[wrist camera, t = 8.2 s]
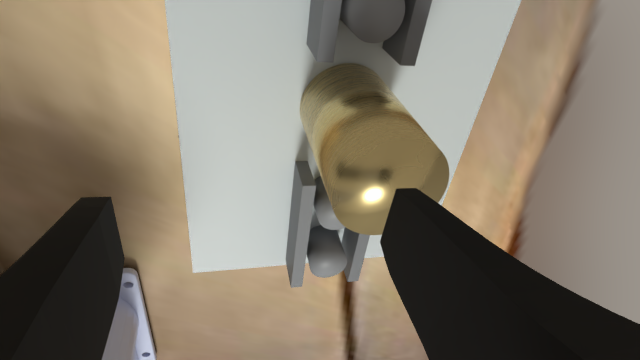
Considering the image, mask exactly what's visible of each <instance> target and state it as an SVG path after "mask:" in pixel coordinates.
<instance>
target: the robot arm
mask: <svg viewBox="0 0 640 360" xmlns="http://www.w3.org/2000/svg"><path fill="white" fill-rule="evenodd" d="M380 244H381V247H382V251H383V254H384V258H385V261H386V264H387V267H388V270H389V273H390V275H391V278H392V280H393V282H394V284H395V287H396V289H397V291H398V293H399V295H400V297H401V300H402V302H403V304H404V306H405V308H406V310H407V312H408V314H409V317H410V319H411V321H412V323H413V325H414V327H415V329H416V331H417V334H418V336H419V338H420V340H421V342H422V344H423V346H424V349H425V351H426V354H427V356H428V358H429V360H640V324H638V323H635V322H633V321H631V320H629V319H627V318H625V317H623V316H620V315H618V314H616V313H614V312H611V311H610V310H608V309H605V308H603V307H602V306H600V305H598V304H595V303H594V302H592V301H590V300H588V299H586V298H583V297H581V296H579V295H578V294H576V293H574V292H572V291H570V290H568V289H566V288H564V287H562V286H561V285H559V284H557V283H556V282H554V281H552V280H550V279H549V278H547V277H545V276H543V275H542V274H540V273H538V272H537V271H535V270H533V269H531V268H530V267H528V266H527V265H525V264H523V263H522V262H520V261H519V260H517V259H516V258H514V257H513V256H511V255H510V254H508V253H507V252H505V251H504V250H502V249H501V248H499V247H498V246H496V245H495V244H493V243H492V242H490V241H489V240H487V239H486V238H485V237H483V236H482V235H480V234H479V233H478V232H476V231H475V230H473V229H472V228H471V227H469V226H468V225H467V224H465V223H464V222H463V221H461V220H460V219H459V218H457V217H456V216H454V215H453V214H452V213H450V212H449V211H448V210H446V209H445V208H444V207H442V206H441V205H440V204H438V203H437V202H436V201H434V200H433V199H432V198H430V197H429V196H427V195H426V194H424V193H423V192H421V191H420V190H418V189H417V188H398V189H396V191H395V194H394V197H393V200H392V204H391V207H390V210H389V213H388V217H387V220H386V223H385V227H384V230H383V233H382V236H381V240H380ZM123 266H124V254H123V250H122V245H121V241H120V236H119V232H118V227H117V223H116V218H115V213H114V209H113V204H112V200H111V197H87V198H81V199H79V200H78V201H77V202H76V203H75V204H74V205H73V206H72V207H71V208H70V209H69V210H68V211H67V212H66V213H65V214H64V215H63V216H62V217H61V218H60V219H59V220H58V221H57V222H56V223H55V224H54V225H53V226H52V227H51V228H50V229H49V230H48V231H47V232H46V233H45V234H44V235H43V236H42V237H41V238H40V239H39V240H38V241H37V242H36V243H35V244H34V245H33V246H32V247H31V248H30V249H29V250H28V251H27V252H26V253H25V254H24V255H22V256H21V257H20V258H19V259H18V260H17V261H16V262H15V263H14V264H13V265H12V266H11V267H10V268H9V269H8V270H7V271H6V272H4V273H3V274H2V275H1V276H0V360H156V359H157V356H156V351H155V347H154V343H153V338H152V334H151V330H150V325H149V321H148V316H147V312H146V308H145V303H144V299H143V294H142V290H141V286H140V281H139V277H138V273H137V271H136V270H134V269H132V268H123Z"/></svg>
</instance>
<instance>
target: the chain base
mask: <svg viewBox="0 0 640 360" xmlns="http://www.w3.org/2000/svg"><path fill="white" fill-rule="evenodd" d="M520 2H521V0H165V8H166V17H167V27H168V37H169V46H170V56H171V65H172V75H173V84H174V94H175V103H176V113H177V122H178V132H179V142H180V151H181V161H182V170H183V180H184V189H185V199H186V208H187V218H188V228H189V237H190V247H191V256H192V266H193V273H197V272H209V271H220V270H232V269H244V268H255V267H267V266H279V265H287V270H288V275H289V280H290V285H291V287H301V286H302V283H303V275H304V268H305V263H309V266H310V270H311V272H312V273H313V274H314V275H315V276H317V277H323V278H325V277H331V276H334V275H337V274H338V273H340V272H341V271H342V270H343V269H344V272H345V275H346V278H347V281H348V282H351V281H358V279H359V275H360V271H361V268H362V264H363V260H364V258H372V257H384V254H383V251H382V247H381V244H380V240H381V236H382V235H365V234H360V233H357V232H354V231H352V230H349V229H348V228H346V227H345V226H344V225H342V224H341V223H340V222H339V220H338V219H337V218H336V216H335V214H334V211H333V208H332V205H331V203H330V200H329V197H328V194H327V192H326V189H325V186H324V183H323V180H322V178H321V175H320V172H319V169H318V166H317V164H316V161H315V158H314V155H313V152H312V150H311V147H310V144H309V141H308V138H307V136H306V133H305V130H304V127H303V125H302V122H301V118H300V102H301V98H302V95H303V93H304V91H305V89H306V88H307V86H308V85H309V83H310V82H311V81H312V80H313V79H314V78H315V77H316V76H317V75H318V74H319V73H321V72H322V71H324V70H326V69H328V68H330V67H332V66H335V65H338V64H344V63H355V64H360V65H364V66H366V67H368V68H370V69H372V70H373V71H374V72H376V73H377V74H378V76H379V77H380V78H381V79H382V80H383V81H384V83H385V84H386V85H387V86H388V87H389V89H390V90H391V91H392V92H393V93H394V95H395V96H396V97H397V98H398V100H399V101H400V102H401V103H402V104H403V106H404V107H405V108H406V109H407V110H408V112H409V113H410V114H411V115H412V116H413V118H414V119H415V120H416V121H417V122H418V124H419V125H420V126H421V127H422V129H423V130H424V131H425V132H426V133H427V135H428V136H429V137H430V138H431V139H432V141H433V142H434V143H435V144H436V145H437V147H438V148H439V149H440V150H441V151H442V153H443V154H444V156H445V157H446V159H447V162H448V165H449V182H448V185H447V188H446V190H445V193H444V195H443V196H442V198H441V200H440V201H439V202H438V204H440V205H441V206H442V203H443V201H444V198H445V196H446V193H447V191H448V188H449V185H450V183H451V180H452V178H453V175H454V172H455V170H456V167H457V165H458V162H459V160H460V157H461V154H462V152H463V149H464V147H465V144H466V142H467V139H468V136H469V134H470V131H471V129H472V126H473V123H474V121H475V118H476V116H477V113H478V111H479V108H480V105H481V103H482V100H483V98H484V95H485V92H486V90H487V87H488V85H489V82H490V80H491V77H492V74H493V72H494V69H495V67H496V64H497V62H498V59H499V56H500V54H501V51H502V49H503V46H504V43H505V41H506V38H507V36H508V33H509V31H510V28H511V25H512V23H513V20H514V18H515V15H516V12H517V10H518V7H519V5H520Z"/></svg>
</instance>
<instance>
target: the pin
mask: <svg viewBox="0 0 640 360" xmlns="http://www.w3.org/2000/svg"><path fill="white" fill-rule="evenodd" d="M300 118H301V122H302V125H303V127H304V130H305V133H306V136H307V138H308V141H309V144H310V147H311V150H312V152H313V155H314V158H315V161H316V164H317V166H318V169H319V172H320V175H321V178H322V180H323V183H324V186H325V189H326V192H327V194H328V197H329V200H330V203H331V205H332V208H333V211H334V214H335V216H336V218H337V219H338V220H339V222H340V223H341V224H342V225H344V226H345V227H346V228H348V229H349V230H352V231H354V232H357V233H360V234H365V235H382V233H383V230H384V227H385V223H386V220H387V217H388V213H389V210H390V207H391V204H392V200H393V197H394V194H395V191H396V189H398V188H417V189H418V190H420V191H421V192H423V193H424V194H426V195H427V196H429V197H430V198H432V199H433V200H434V201H436V202H437V203H438V202H439V201H440V200H441V198H442V196H443V195H444V193H445V190H446V188H447V185H448V182H449V165H448V162H447V159H446V157H445V156H444V154H443V153H442V151H441V150H440V149H439V148H438V147H437V145H436V144H435V143H434V142H433V141H432V139H431V138H430V137H429V136H428V135H427V133H426V132H425V131H424V130H423V129H422V127H421V126H420V125H419V124H418V122H417V121H416V120H415V119H414V118H413V116H412V115H411V114H410V113H409V112H408V110H407V109H406V108H405V107H404V106H403V104H402V103H401V102H400V101H399V100H398V98H397V97H396V96H395V95H394V93H393V92H392V91H391V90H390V89H389V87H388V86H387V85H386V84H385V83H384V81H383V80H382V79H381V78H380V77H379V76H378V74H377V73H376V72H374V71H373V70H372V69H370V68H368V67H366V66H364V65H360V64H355V63H344V64H338V65H335V66H332V67H330V68H328V69H326V70H324V71H322V72H321V73H319V74H318V75H317V76H316V77H315V78H314V79H313V80H312V81H311V82H310V83H309V85H308V86H307V88H306V89H305V91H304V93H303V95H302V98H301V102H300Z"/></svg>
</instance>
